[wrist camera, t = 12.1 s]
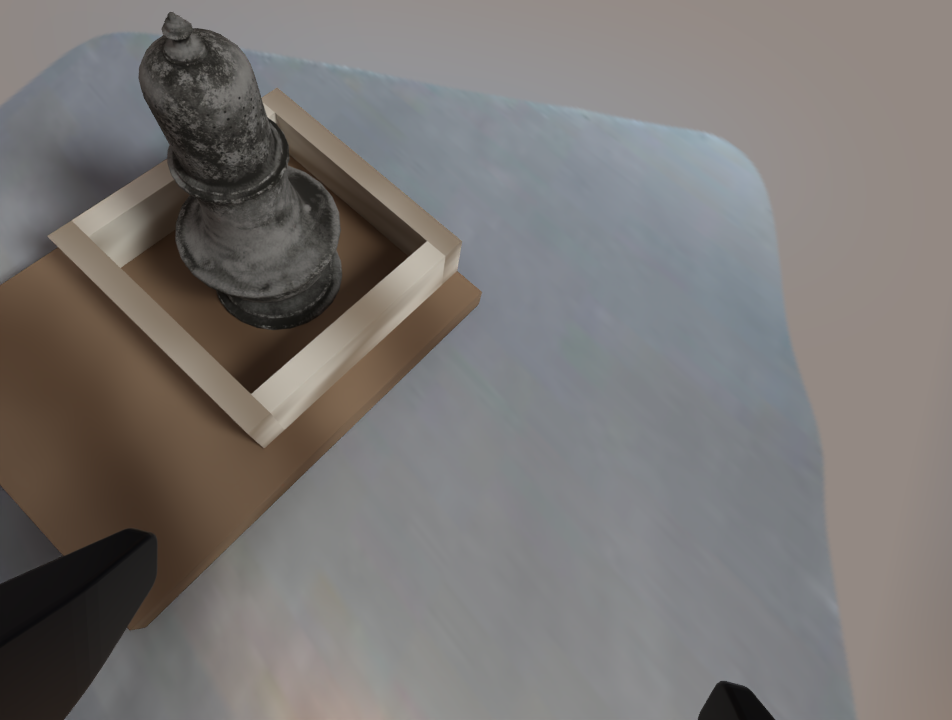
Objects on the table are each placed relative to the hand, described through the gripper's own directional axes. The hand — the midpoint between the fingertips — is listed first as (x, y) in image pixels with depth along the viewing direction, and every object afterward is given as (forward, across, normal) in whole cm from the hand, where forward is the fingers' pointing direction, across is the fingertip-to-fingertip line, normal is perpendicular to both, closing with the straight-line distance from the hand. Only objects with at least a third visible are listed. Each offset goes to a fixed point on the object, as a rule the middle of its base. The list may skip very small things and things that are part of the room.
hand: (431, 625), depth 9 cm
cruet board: (+15, +11, +4) cm, 19 cm away
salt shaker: (+16, +10, +1) cm, 19 cm away
